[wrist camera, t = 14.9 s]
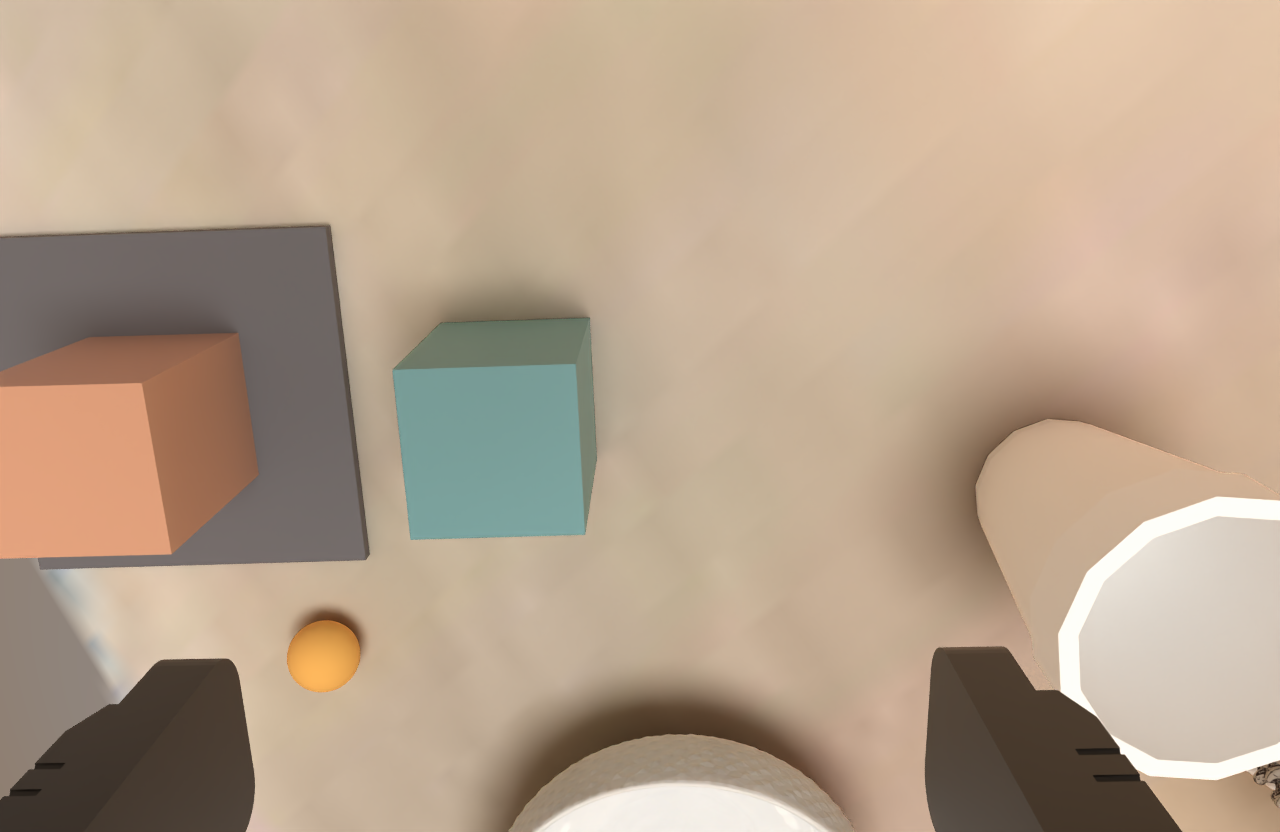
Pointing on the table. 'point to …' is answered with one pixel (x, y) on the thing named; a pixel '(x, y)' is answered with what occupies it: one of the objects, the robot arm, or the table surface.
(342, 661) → the orange ball
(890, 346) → the table surface
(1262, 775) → the decorative candle
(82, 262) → the charcoal mat
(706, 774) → the cereal bowl
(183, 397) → the salmon pink cube
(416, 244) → the table surface
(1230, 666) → the foam cup
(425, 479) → the seafoam square box
